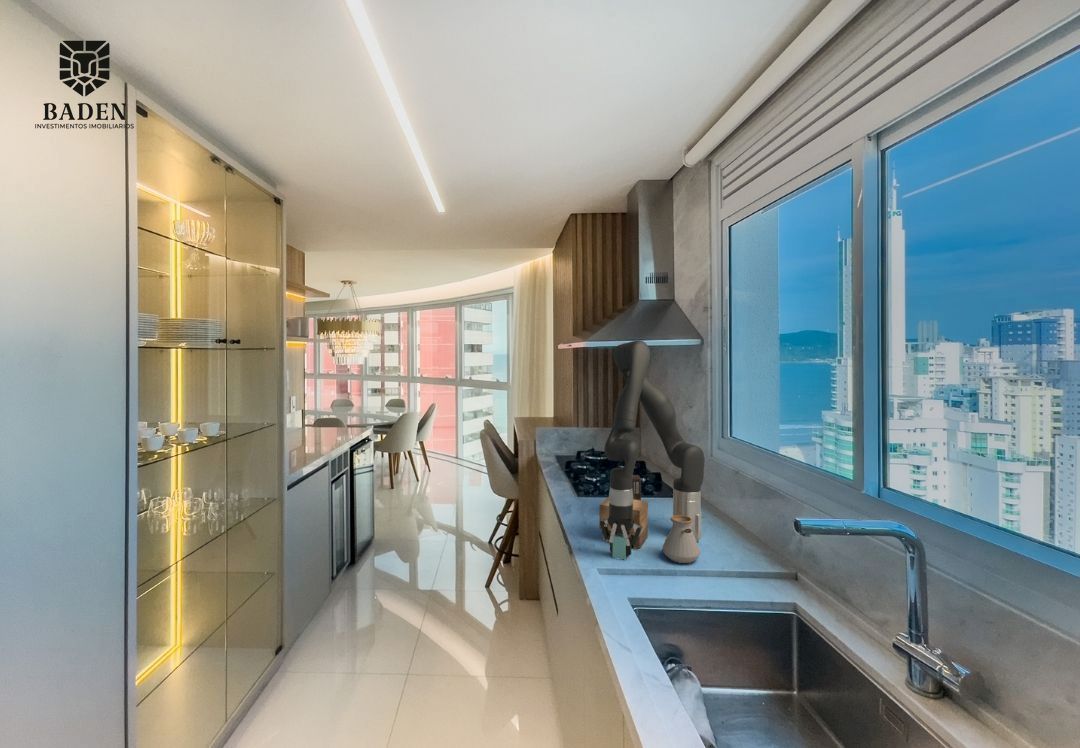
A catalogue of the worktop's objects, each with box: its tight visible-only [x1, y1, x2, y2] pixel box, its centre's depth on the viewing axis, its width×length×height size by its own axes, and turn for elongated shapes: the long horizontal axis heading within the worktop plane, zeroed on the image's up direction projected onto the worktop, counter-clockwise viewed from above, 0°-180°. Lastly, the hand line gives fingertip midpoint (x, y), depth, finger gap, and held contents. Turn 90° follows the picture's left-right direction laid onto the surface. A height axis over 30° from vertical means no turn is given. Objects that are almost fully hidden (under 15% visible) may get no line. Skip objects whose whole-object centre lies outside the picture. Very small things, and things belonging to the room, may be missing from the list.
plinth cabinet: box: [598, 496, 649, 550], centre depth 158 cm, size 14×11×13 cm
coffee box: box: [632, 474, 642, 501], centre depth 181 cm, size 9×6×16 cm
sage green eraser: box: [612, 533, 634, 561], centre depth 150 cm, size 4×16×7 cm, turn 153°
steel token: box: [602, 531, 611, 544], centre depth 158 cm, size 5×5×2 cm
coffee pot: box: [662, 515, 701, 564], centre depth 139 cm, size 21×12×15 cm, turn 172°
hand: (620, 554), depth 145 cm, fingers closed on sage green eraser, 4 cm apart
